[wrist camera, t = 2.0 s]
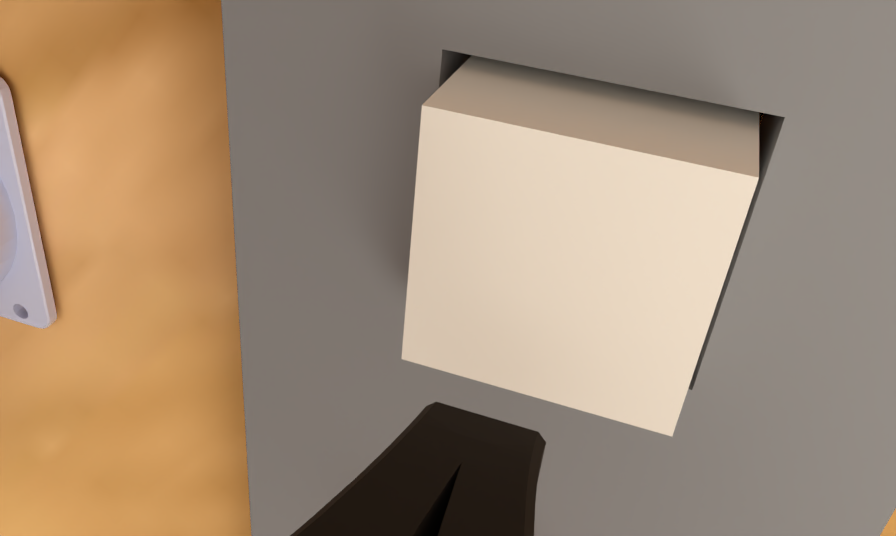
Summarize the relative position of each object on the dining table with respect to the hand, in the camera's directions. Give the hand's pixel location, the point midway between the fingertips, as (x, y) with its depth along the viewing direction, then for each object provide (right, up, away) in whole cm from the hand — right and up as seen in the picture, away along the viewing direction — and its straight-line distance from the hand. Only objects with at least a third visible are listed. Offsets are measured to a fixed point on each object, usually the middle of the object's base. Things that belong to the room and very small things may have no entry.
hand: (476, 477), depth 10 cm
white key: (+2, +4, +6) cm, 7 cm away
